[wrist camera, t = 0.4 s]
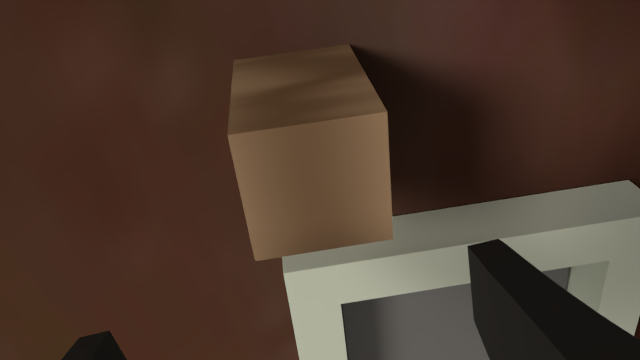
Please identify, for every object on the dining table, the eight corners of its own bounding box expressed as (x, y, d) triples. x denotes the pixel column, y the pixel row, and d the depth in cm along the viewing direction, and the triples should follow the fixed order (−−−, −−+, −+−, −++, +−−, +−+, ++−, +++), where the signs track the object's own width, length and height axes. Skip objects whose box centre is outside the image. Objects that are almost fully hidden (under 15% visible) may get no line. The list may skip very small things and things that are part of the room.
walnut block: (348, 43, 18) (387, 111, 13) (356, 146, 20) (393, 239, 15) (233, 60, 18) (227, 135, 13) (253, 161, 20) (255, 260, 15)
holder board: (628, 180, 23) (668, 212, 20) (578, 403, 30) (603, 444, 28) (280, 234, 22) (283, 273, 20) (319, 448, 30) (324, 493, 27)
